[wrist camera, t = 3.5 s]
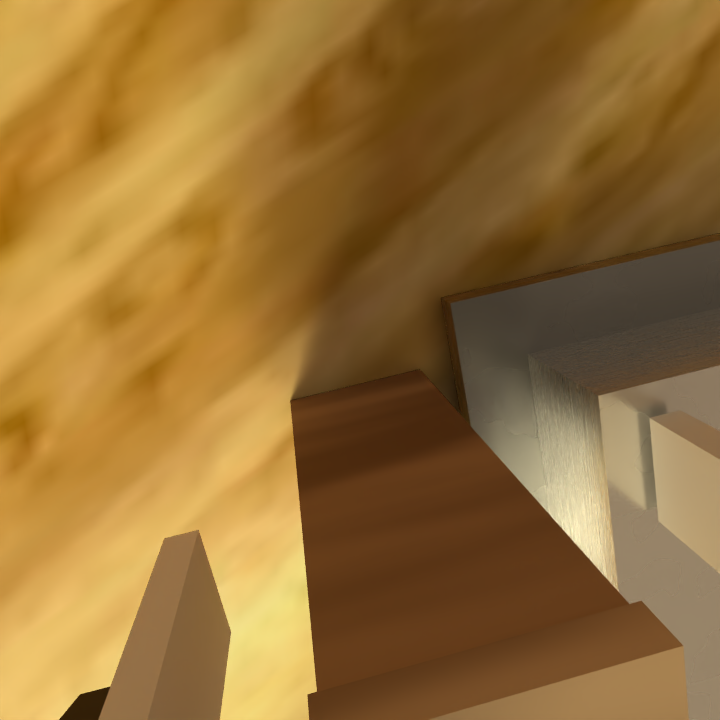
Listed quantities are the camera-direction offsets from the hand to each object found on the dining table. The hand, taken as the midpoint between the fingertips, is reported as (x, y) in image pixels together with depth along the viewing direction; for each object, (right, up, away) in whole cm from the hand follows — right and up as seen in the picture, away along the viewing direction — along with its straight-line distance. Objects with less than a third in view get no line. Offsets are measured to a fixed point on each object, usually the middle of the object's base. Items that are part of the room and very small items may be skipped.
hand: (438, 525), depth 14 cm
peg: (-2, +1, +5) cm, 5 cm away
